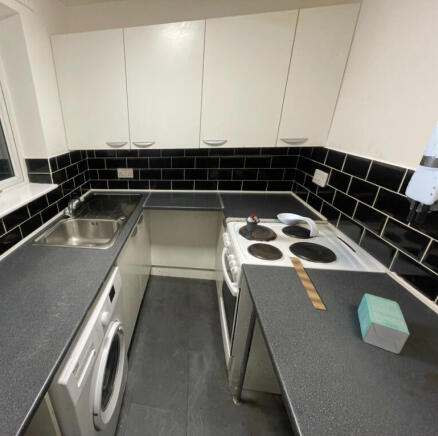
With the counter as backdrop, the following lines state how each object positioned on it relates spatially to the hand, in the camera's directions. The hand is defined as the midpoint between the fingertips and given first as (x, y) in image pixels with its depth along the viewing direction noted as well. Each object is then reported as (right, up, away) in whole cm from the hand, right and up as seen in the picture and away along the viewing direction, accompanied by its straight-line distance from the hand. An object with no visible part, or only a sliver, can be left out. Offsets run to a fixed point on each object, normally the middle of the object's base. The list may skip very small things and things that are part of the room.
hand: (414, 222), depth 71 cm
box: (-16, -31, -4) cm, 35 cm away
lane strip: (-23, -22, +16) cm, 35 cm away
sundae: (-30, -9, +47) cm, 56 cm away
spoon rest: (0, -4, +56) cm, 56 cm away
